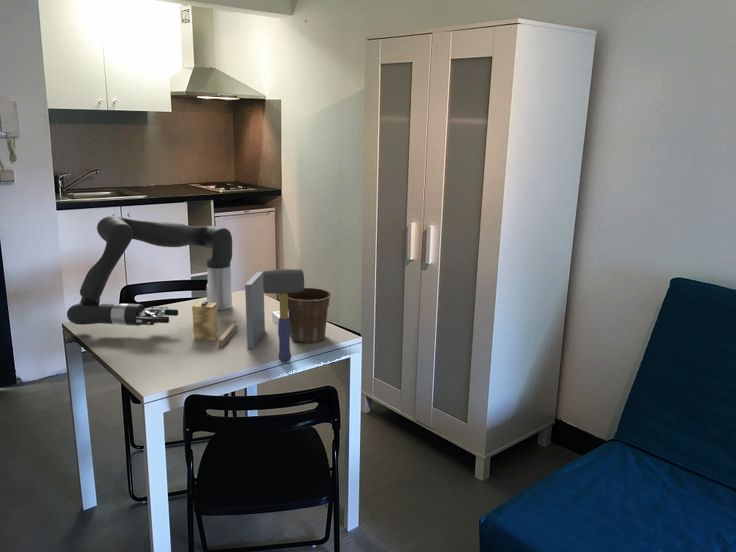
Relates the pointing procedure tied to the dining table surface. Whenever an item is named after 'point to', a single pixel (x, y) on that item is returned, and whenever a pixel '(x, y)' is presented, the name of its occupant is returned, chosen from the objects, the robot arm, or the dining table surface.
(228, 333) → the wall board
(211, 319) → the ochre block
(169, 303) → the dining table surface
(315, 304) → the plant pot
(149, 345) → the dining table surface
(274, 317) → the bracket
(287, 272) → the rubber mallet
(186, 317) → the dining table surface
